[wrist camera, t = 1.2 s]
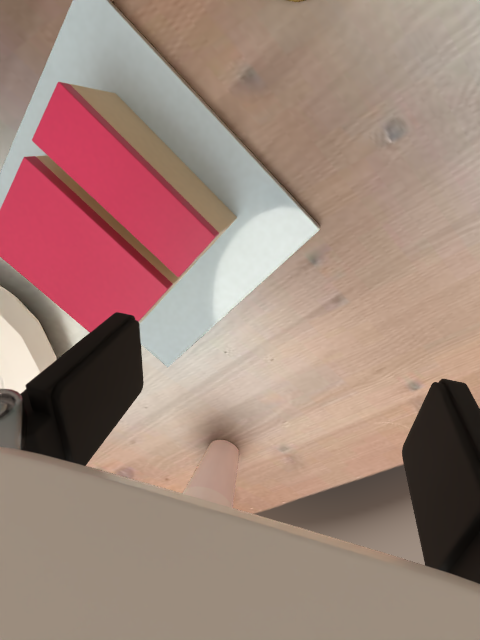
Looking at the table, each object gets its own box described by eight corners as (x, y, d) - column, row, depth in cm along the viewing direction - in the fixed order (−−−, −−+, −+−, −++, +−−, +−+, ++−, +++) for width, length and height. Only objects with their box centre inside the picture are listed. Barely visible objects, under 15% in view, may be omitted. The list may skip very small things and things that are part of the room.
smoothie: (246, 476, 41) (213, 615, 29) (196, 461, 42) (143, 591, 30) (254, 439, 38) (220, 578, 26) (199, 424, 39) (142, 553, 27)
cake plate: (92, -19, 22) (83, -26, 21) (320, 226, 26) (320, 229, 25) (-7, 206, 32) (-16, 208, 31) (171, 362, 36) (167, 367, 35)
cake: (82, 152, 27) (23, 156, 21) (196, 262, 29) (167, 289, 24) (42, 225, 30) (-16, 243, 25) (145, 317, 32) (111, 351, 27)
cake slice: (115, 92, 24) (57, 80, 19) (237, 217, 26) (215, 236, 21) (89, 139, 26) (30, 140, 21) (205, 252, 28) (177, 278, 23)
